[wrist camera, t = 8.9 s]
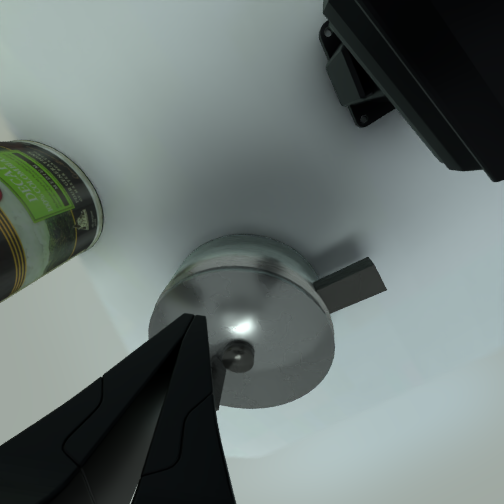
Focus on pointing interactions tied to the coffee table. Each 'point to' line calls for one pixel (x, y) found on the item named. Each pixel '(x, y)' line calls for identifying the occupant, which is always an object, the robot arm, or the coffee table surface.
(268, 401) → the lid
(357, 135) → the coffee table surface
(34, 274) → the coffee can
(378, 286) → the pot
